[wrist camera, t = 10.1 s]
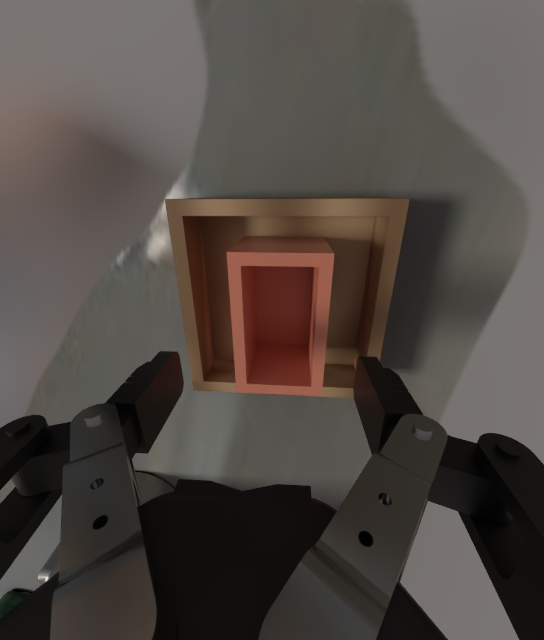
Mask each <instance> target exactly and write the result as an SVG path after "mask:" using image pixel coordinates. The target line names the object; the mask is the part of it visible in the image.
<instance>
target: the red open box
mask: <svg viewBox="0 0 544 640" xmlns="http://www.w3.org/2000/svg"><path fill="white" fill-rule="evenodd" d="M333 264H334V252H333V250H332V249H331V247H330V246H329V244H328V243H327V241H326V240H325V238H324V237H278V236H245V237H244V238H243V239H242V240H241V241H239V242H238V243H237V244H236V245H235V246H233V247H232V248H231V249H230V250H229V251H227V266H228V280H229V294H230V308H231V322H232V336H233V351H234V365H235V379H236V392H245V393H265V394H286V395H306V396H322V388H323V377H324V366H325V354H326V343H327V332H328V321H329V309H330V298H331V287H332V276H333Z"/></svg>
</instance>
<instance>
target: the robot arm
mask: <svg viewBox="0 0 544 640" xmlns="http://www.w3.org/2000/svg"><path fill="white" fill-rule="evenodd" d="M183 384H184V382H183V375H182V369H181V363H180V357H179V354H178V352H167V351H160V352H159V353H158V354H157V355H156V356H155V357H154V358H153V359H152V361H151V362H146V363H145V364H143V365H142V366H140V367H138V368H137V369H136V370H135V371H134V372H133V373H132V374H131V375H130V377H129V378H128V379H127V380H126V381H125V383H123V384H122V385H121V386H120V387H119V388H118V390H117V391H116V392H115V393H114V394H113V395H112V396H111V397H110V398H109V399H108V400H107V402H106V403H101V404H96V405H93V406H90V407H88V408H86V409H84V410H82V411H81V412H79V413H78V414H77V415H76V416H75V417H74V418H73V419H72V421H71V422H68V423H62V424H57V425H52V426H48V424H47V422H46V419H45V418H44V417H43V416H41V415H30V416H25V417H22V418H19V419H17V420H14V421H12V422H10V423H8V424H6V425H5V426H3V427H1V428H0V490H1V489H2V488H3V487H4V486H5V484H6V483H7V482H8V481H9V480H10V479H12V481H13V483H14V484H15V486H16V487H15V488H14V489H13V490H12V491H11V492H10V494H9V495H8V496H7V497H6V498H5V499H4V500H3V501H2V502H1V504H0V580H1V578H2V577H3V575H4V574H5V573H6V571H7V570H8V568H9V567H10V566H11V564H12V563H13V561H14V560H15V559H16V557H17V556H18V555H19V553H20V552H21V550H22V549H23V548H24V546H25V545H26V543H27V542H28V541H29V539H30V538H31V536H32V535H33V534H34V532H35V531H36V529H37V528H38V527H39V525H40V524H41V522H42V521H43V520H44V518H45V517H46V516H47V514H48V513H49V511H50V510H51V509H52V507H53V506H54V504H55V503H56V502H57V500H58V499H59V497H60V496H61V495H62V505H61V533H60V543H59V544H58V545H57V547H56V548H55V550H54V551H53V553H52V554H51V556H50V557H49V559H48V560H47V562H46V563H45V565H44V566H43V568H42V569H41V571H40V572H39V575H38V579H39V581H40V583H41V584H42V585H41V586H40V587H39V588H37V589H36V590H35V591H34V592H32V593H31V594H30V595H29V596H27V597H26V598H25V599H24V600H22V601H21V602H20V603H19V604H17V605H16V606H15V607H14V608H12V609H11V610H10V611H9V612H8V613H6V614H5V615H4V616H3V617H1V618H0V640H448V639H447V638H446V637H445V636H444V635H443V633H442V632H441V631H440V630H439V629H438V627H437V626H436V625H435V624H434V623H433V622H432V620H431V619H430V618H429V617H428V616H427V614H426V613H425V612H424V611H423V609H422V608H421V607H420V606H419V605H418V604H417V602H416V601H415V600H414V599H413V598H412V597H411V595H410V594H409V593H408V592H407V590H406V589H405V588H404V587H403V586H402V584H401V583H400V581H401V578H402V575H403V572H404V569H405V566H406V563H407V560H408V557H409V554H410V551H411V548H412V545H413V542H414V539H415V536H416V534H417V531H418V528H419V525H420V522H421V519H422V516H423V513H424V510H425V508H426V504H427V502H428V501H430V502H433V503H436V504H439V505H442V506H445V507H447V508H450V509H453V510H456V511H458V512H459V514H460V516H461V519H462V521H463V523H464V525H465V527H466V529H467V531H468V533H469V535H470V538H471V540H472V542H473V544H474V546H475V548H476V550H477V552H478V554H479V556H480V558H481V560H482V563H483V565H484V567H485V569H486V571H487V573H488V575H489V577H490V579H491V581H492V583H493V585H494V588H495V590H496V592H497V594H498V596H499V598H500V600H501V602H502V604H503V606H504V608H505V611H506V613H507V615H508V617H509V619H510V621H511V623H512V625H513V627H514V629H515V632H516V633H517V635H518V638H519V640H544V465H543V463H541V461H540V460H539V459H538V458H537V457H536V455H535V454H534V453H533V452H532V451H531V450H530V449H528V448H527V447H526V446H524V445H523V444H521V443H519V442H518V441H516V440H514V439H512V438H510V437H507V436H504V435H500V434H495V433H487V434H483V435H482V436H480V437H479V440H478V442H477V443H473V442H470V441H466V440H462V439H458V438H455V437H452V436H449V435H447V432H446V431H445V429H444V428H443V427H442V426H441V425H440V424H439V423H438V422H436V421H435V420H433V419H431V418H429V417H427V416H424V415H423V414H422V412H421V410H420V409H419V407H418V406H417V404H416V402H415V401H414V399H413V398H412V396H411V394H410V393H409V392H408V389H407V388H406V386H405V385H404V383H403V381H402V380H401V378H400V377H399V375H397V374H396V373H395V372H394V371H392V370H391V369H390V368H383V367H382V365H381V363H380V362H379V360H378V358H377V357H372V356H358V358H357V363H356V371H355V379H354V387H353V393H354V400H355V403H356V406H357V409H358V412H359V416H360V419H361V422H362V425H363V428H364V431H365V434H366V437H367V441H368V444H369V447H370V450H371V453H372V456H371V457H370V459H369V461H368V462H367V464H366V465H365V467H364V469H363V470H362V472H361V473H360V475H359V477H358V478H357V480H356V481H355V483H354V485H353V486H352V488H351V489H350V491H349V493H348V494H347V496H346V497H345V499H344V501H343V502H342V504H341V505H340V507H339V509H338V510H337V511H336V510H335V509H334V508H332V507H330V506H329V505H327V504H326V503H324V502H321V501H319V500H317V499H314V498H311V486H301V485H281V484H276V485H271V486H266V487H261V488H256V489H251V490H246V491H240V490H237V489H234V488H231V487H228V486H225V485H222V484H218V483H215V482H212V481H203V480H184V479H179V480H178V482H177V485H176V487H175V490H174V489H173V488H172V487H171V486H170V485H169V484H168V483H166V482H165V481H163V480H161V479H159V478H157V477H155V476H152V475H150V474H146V473H141V472H135V469H134V465H133V462H132V458H133V456H134V455H135V453H148V452H149V450H150V449H151V447H152V445H153V443H154V442H155V440H156V438H157V436H158V435H159V433H160V431H161V429H162V427H163V426H164V424H165V422H166V420H167V419H168V417H169V415H170V413H171V412H172V410H173V408H174V406H175V405H176V403H177V401H178V399H179V397H180V396H181V394H182V391H183Z"/></svg>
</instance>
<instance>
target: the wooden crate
mask: <svg viewBox="0 0 544 640" xmlns="http://www.w3.org/2000/svg"><path fill="white" fill-rule="evenodd" d="M409 200H410V199H405V198H191V199H165V203H166V210H167V216H168V223H169V230H170V236H171V243H172V250H173V256H174V263H175V270H176V276H177V283H178V290H179V296H180V303H181V310H182V316H183V323H184V330H185V336H186V343H187V350H188V356H189V363H190V370H191V376H192V383H193V390H198V391H218V392H236V379H235V365H234V351H233V336H232V322H231V308H230V294H229V280H228V266H227V251H229V250H230V249H231V248H232V247H233V246H235V245H236V244H237V243H238V242H239V241H241V240H242V239H243V238H244V237H245V236H278V237H324V238H325V240H326V241H327V243H328V244H329V246H330V247H331V249H332V250H333V252H334V264H333V276H332V287H331V298H330V309H329V321H328V332H327V343H326V354H325V366H324V377H323V388H322V396H321V397H342V398H354V393H353V387H354V379H355V371H356V363H357V358H358V356H372V357H377V358H378V360H379V362H380V357H381V351H382V346H383V341H384V335H385V330H386V324H387V319H388V314H389V308H390V303H391V297H392V292H393V287H394V281H395V276H396V270H397V265H398V260H399V254H400V249H401V243H402V238H403V233H404V227H405V222H406V216H407V211H408V206H409ZM239 393H245V392H239ZM259 394H265V393H259ZM280 395H286V394H280ZM301 396H306V395H301Z"/></svg>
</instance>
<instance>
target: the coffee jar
mask: <svg viewBox="0 0 544 640" xmlns="http://www.w3.org/2000/svg"><path fill="white" fill-rule="evenodd" d="M29 595H30V593H28V592H14V591H9V592H7V593H6V594H4V595H3V597H2V598H1V599H0V618H1V617H3V616H4V615H5V614H6V613H8V612H9V611H10V610H11V609H12V608H14V607H15V606H16V605H17V604H19V603H20V602H21V601H22V600H24V599H25V598H26V597H27V596H29Z"/></svg>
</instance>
